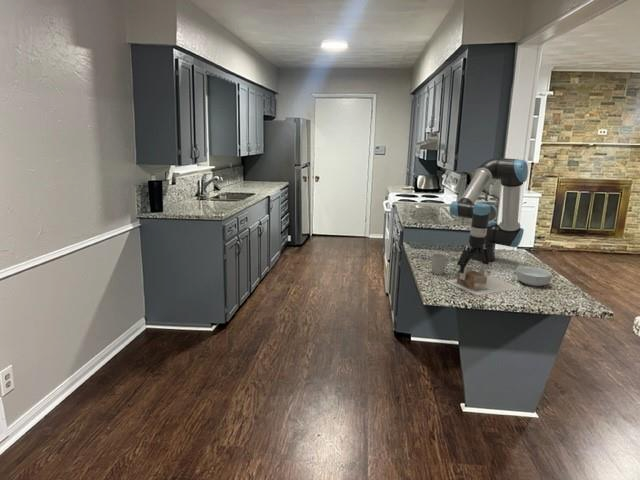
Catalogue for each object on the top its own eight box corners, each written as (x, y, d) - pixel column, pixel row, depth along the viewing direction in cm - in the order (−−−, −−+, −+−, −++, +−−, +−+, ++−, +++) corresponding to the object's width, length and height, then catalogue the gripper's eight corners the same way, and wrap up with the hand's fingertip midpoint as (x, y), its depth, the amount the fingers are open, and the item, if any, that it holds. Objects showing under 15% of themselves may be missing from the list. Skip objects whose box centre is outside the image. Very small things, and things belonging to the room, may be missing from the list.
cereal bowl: (516, 276, 242) (518, 264, 240) (550, 283, 234) (553, 270, 232) (512, 285, 228) (514, 271, 226) (548, 292, 220) (551, 278, 218)
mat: (484, 275, 242) (484, 274, 242) (520, 288, 223) (520, 287, 223) (444, 281, 227) (444, 280, 227) (478, 296, 209) (478, 295, 209)
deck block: (456, 282, 225) (458, 270, 223) (466, 281, 228) (468, 269, 226) (475, 290, 215) (477, 278, 213) (485, 289, 218) (487, 276, 216)
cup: (445, 272, 242) (448, 254, 239) (444, 277, 234) (447, 258, 232) (430, 270, 244) (432, 252, 242) (428, 274, 237) (431, 256, 234)
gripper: (465, 239, 206) (459, 283, 211) (501, 235, 218) (495, 277, 223) (453, 235, 212) (447, 278, 217) (489, 232, 224) (483, 272, 230)
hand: (471, 277), depth 220 cm, fingers open, 13 cm apart
